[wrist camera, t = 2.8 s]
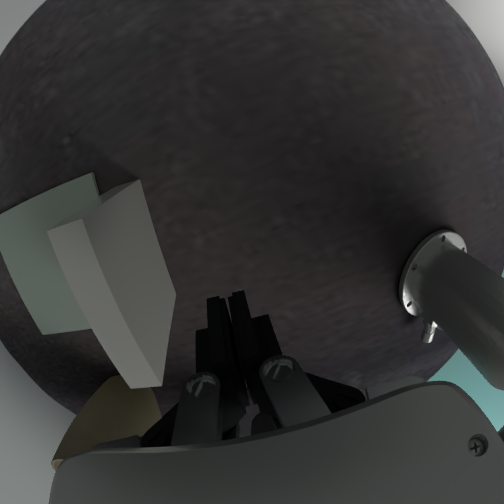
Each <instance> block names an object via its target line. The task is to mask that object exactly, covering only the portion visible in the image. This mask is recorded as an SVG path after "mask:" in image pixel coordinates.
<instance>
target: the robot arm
mask: <svg viewBox="0 0 504 504" xmlns="http://www.w3.org/2000/svg"><path fill="white" fill-rule="evenodd" d="M399 298H400V302H401V304H402V306H403V307H404V308H405V310H406V311H407V312H409V313H410V314H411V315H414V316H422V317H423V318H424V320H423V323H424V325H425V327H424V328H423V332H422V335H421V340H422V341H423V342H425V343H430V342H431V341H432V340H433V336H434V333H435V327H437V328H438V329H440V330H442V331H443V332H444V333H445V334H446V335H447V336H448V337H449V338H450V339H451V340H452V342H453V343H454V344H455V345H456V346H457V347H458V348H459V349H460V350H461V351H462V352H463V354H464V355H465V356H466V357H467V358H468V359H469V360H470V361H471V363H472V364H473V365H474V366H475V367H476V368H477V370H478V371H479V372H480V373H481V374H482V375H483V376H484V378H485V379H486V380H487V381H488V382H489V383H490V384H491V385H492V386H493V387H495V388H497V389H500V390H504V278H503V277H502V276H500V275H499V274H497V273H496V272H494V271H493V270H492V269H490V268H489V267H487V266H486V265H484V264H483V263H481V262H480V261H478V260H477V259H475V258H474V257H472V256H471V255H469V254H467V251H466V246H465V243H464V240H463V239H462V237H461V236H460V235H458V234H457V233H455V232H453V231H451V230H447V229H443V230H438V231H436V232H434V233H432V234H430V235H429V236H428V237H426V238H425V239H424V240H423V241H422V242H421V243H420V244H419V245H418V246H417V247H416V249H415V250H414V251H413V252H412V254H411V256H410V257H409V259H408V261H407V263H406V265H405V267H404V269H403V272H402V275H401V278H400V284H399ZM228 301H229V307H230V313H231V319H232V323H231V319H230V316H229V312H228V309H227V305H226V302H225V299H224V298H222V299H220V297H219V296H216V297H212V298H207V319H208V328H206V329H201V330H196V373H195V374H193V375H191V376H190V377H188V378H187V379H186V380H185V382H184V383H183V385H182V389H181V394H180V399H179V402H178V403H177V404H176V405H175V406H174V407H173V408H172V409H171V410H169V411H168V412H167V413H166V414H165V415H164V416H163V417H162V418H161V419H160V420H159V421H157V422H156V423H155V424H154V425H153V426H152V427H151V428H150V429H148V430H147V431H146V433H145V434H144V435H143V436H141V437H139V436H138V435H135V436H130V437H126V438H122V439H117V440H113V441H108V442H103V443H99V444H96V445H95V446H93V447H92V449H91V450H88V451H83V452H80V453H77V454H73V455H71V456H69V457H67V458H66V459H64V460H63V461H62V462H61V463H60V464H59V466H58V468H57V470H56V473H55V476H54V479H53V483H52V487H51V493H50V499H49V504H504V426H503V427H502V428H501V429H500V430H499V431H498V432H497V431H496V430H495V428H494V426H493V425H492V423H491V422H490V421H489V419H488V418H487V417H486V415H485V414H484V413H483V411H482V410H481V409H480V407H479V406H478V405H477V404H476V403H475V401H474V400H473V399H472V398H471V397H470V396H469V395H468V394H467V393H466V392H465V391H464V390H462V389H461V388H460V387H459V386H457V385H456V384H453V383H451V382H446V381H430V382H426V381H425V380H424V379H422V378H421V377H417V376H411V377H406V378H402V379H398V380H394V381H389V382H385V383H380V384H375V385H370V386H366V389H362V390H359V389H357V388H354V387H351V386H348V385H344V384H341V383H338V382H334V381H331V380H328V379H325V378H321V377H318V376H315V375H312V374H309V373H306V372H304V371H303V369H302V368H301V366H300V365H299V363H298V362H297V361H296V360H295V359H294V358H292V357H290V356H286V355H282V352H281V349H280V347H279V344H278V341H277V338H276V335H275V333H274V330H273V327H272V324H271V321H270V318H269V316H268V314H267V315H263V316H259V317H255V318H251V315H250V312H249V308H248V304H247V300H246V296H245V292H244V290H242V291H238V292H233V293H232V296H231V297H228ZM232 325H233V326H232ZM244 378H245V379H244ZM245 381H246V384H247V387H248V390H249V393H250V396H251V398H252V401H253V404H254V405H255V404H258V406H259V409H260V412H262V413H264V414H267V415H269V416H271V419H272V422H273V424H274V426H275V428H276V430H273V431H269V432H265V433H260V434H255V435H251V436H245V437H240V438H239V431H240V426H239V420H240V419H241V418H242V417H243V416H244V414H246V409H245V407H246V406H250V404H249V399H248V394H247V389H246V384H245Z"/></svg>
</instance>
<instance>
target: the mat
mask: <svg viewBox="0 0 504 504" xmlns="http://www.w3.org/2000/svg"><path fill="white" fill-rule="evenodd" d="M99 196H100V194H99V190H98V187H97V183H96V179H95V176H94V172H92V173H89V174H86V175H84V176H81V177H79V178H76V179H74V180H71V181H69V182H67V183H64V184H62V185H60V186H57V187H55V188H53V189H50V190H48V191H46V192H44V193H42V194H40V195H37V196H35V197H33V198H31V199H29V200H27V201H25V202H23V203H21V204H19V205H17V206H15V207H13V208H11V209H10V210H8V211H6V212H4V213H2V214H0V252H1V254H2V257H3V259H4V261H5V264H6V266H7V268H8V271H9V273H10V275H11V277H12V279H13V282H14V284H15V286H16V288H17V290H18V292H19V294H20V296H21V298H22V300H23V302H24V304H25V305H26V307H27V309H28V311H29V313H30V314H31V316H32V318H33V320H34V321H35V323H36V325H37V327H38V328H39V330H40V331H41V333H42V335H46V334H54V333H62V332H70V331H77V330H84V329H91V326H90V325H89V323H88V321H87V319H86V317H85V315H84V314H83V312H82V310H81V308H80V306H79V304H78V302H77V300H76V298H75V296H74V294H73V292H72V290H71V288H70V286H69V284H68V282H67V279H66V277H65V275H64V273H63V270H62V268H61V266H60V264H59V261H58V259H57V256H56V254H55V251H54V249H53V246H52V244H51V241H50V239H49V236H48V233H47V231H48V230H49V229H50V228H52V227H53V226H55V225H56V224H58V223H59V222H60V221H62V220H63V219H65V218H66V217H68V216H69V215H71V214H72V213H74V212H75V211H77V210H78V209H80V208H81V207H83V206H84V205H86V204H88V203H89V202H91V201H92V200H94V199H96V198H97V197H99Z"/></svg>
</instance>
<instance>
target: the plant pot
mask: <svg viewBox="0 0 504 504" xmlns="http://www.w3.org/2000/svg"><path fill="white" fill-rule="evenodd" d="M161 418H162V416H161V413H160V409H159V407H158V404H157V401H156V398H155V395H154V392H153V391H152V389H151V388H150V387H146V388H133V389H131V388H130V387H129V386H128V384H127V383H126V381H125V380H124V379H123V377H122V376H121V375H117V376H112V377H110V378H109V379H108V380H106V381H105V382H104V383H103V384H102V385H101V386H100V387H99V389H98V390H97V391H96V392H95V393H94V394H93V395H92V396H91V397H90V399H89V400H88V401H87V402H86V403H85V405H84V406H83V407H82V409H81V410H80V411H79V413H78V414H77V416H76V417H75V419H74V420H73V422H72V423H71V425H70V427H69V428H68V430H67V432H66V434H65V435H64V437H63V439H62V441H61V443H60V445H59V447H58V449H57V451H56V453H55V455H54V458H53V460H52V462H51V464H52V467H53V468H54V470H55V471H56V470H57V468H58V466H59V464H60V463H61V462H62V461H63V460H64V459H66V458H67V457H69V456H71V455H73V454H77V453H80V452H83V451H88V450H91V449H92V447H93V446H95V445H96V444H99V443H103V442H108V441H113V440H117V439H122V438H126V437H130V436H135V435H138V436H139V437H141V436H143V435H144V434H145V433H146V431H147V430H148V429H150V428H151V427H152V426H153V425H154V424H155V423H156V422H157V421H159V420H160V419H161Z"/></svg>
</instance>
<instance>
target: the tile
mask: <svg viewBox="0 0 504 504" xmlns="http://www.w3.org/2000/svg"><path fill="white" fill-rule="evenodd" d="M47 233H48V236H49V239H50V241H51V244H52V246H53V249H54V251H55V254H56V256H57V259H58V261H59V264H60V266H61V268H62V270H63V273H64V275H65V277H66V279H67V282H68V284H69V286H70V288H71V290H72V292H73V294H74V296H75V298H76V300H77V302H78V304H79V306H80V308H81V310H82V312H83V314H84V315H85V317H86V319H87V321H88V323H89V325H90V326H91V328H92V330H93V332H94V333H95V335H96V337H97V338H98V340H99V342H100V343H101V345H102V347H103V348H104V350H105V351H106V353H107V355H108V356H109V358H110V359H111V361H112V362H113V364H114V365H115V367H116V368H117V370H118V371H119V373H120V374H121V376H122V377H123V379H124V380H125V381H126V383H127V384H128V386H129V387H130V388H131V389H133V388H146V387H156V386H162V383H163V375H164V367H165V360H166V353H167V346H168V340H169V333H170V327H171V321H172V315H173V309H174V304H175V298H176V292H175V290H174V287H173V284H172V281H171V279H170V276H169V273H168V270H167V267H166V264H165V261H164V258H163V255H162V252H161V249H160V246H159V243H158V240H157V237H156V233H155V230H154V227H153V224H152V220H151V217H150V214H149V210H148V207H147V203H146V200H145V196H144V192H143V189H142V185H141V181H140V179H138V180H135V181H132V182H128V183H125V184H122V185H119V186H116V187H114V188H112V189H110V190H109V191H107V192H105V193H104V194H102V195H100V196H99V197H97V198H96V199H94V200H92V201H91V202H89V203H88V204H86V205H84V206H83V207H81V208H80V209H78V210H77V211H75V212H74V213H72V214H71V215H69V216H68V217H66V218H65V219H63V220H62V221H60V222H59V223H58V224H56V225H55V226H53V227H52V228H50V229H49V230H48V231H47Z"/></svg>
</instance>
